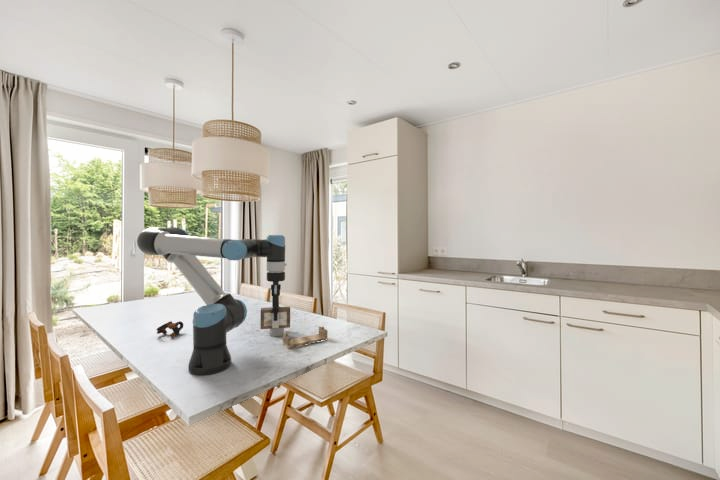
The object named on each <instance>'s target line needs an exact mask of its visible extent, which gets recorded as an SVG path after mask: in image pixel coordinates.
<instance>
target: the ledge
mask: <svg viewBox="0 0 720 480" xmlns="http://www.w3.org/2000/svg"><path fill="white" fill-rule="evenodd" d="M326 339H327V340H328V329H326V328H325V327H324V326H318V333H317V334H312V335H307V336H303V337H296V338H291V336H290V335H288V333H284V334H283V335H282V345H283V347H285V346H286V347H287V348H288V349H287V348H286V347H285V348H286V349H287V350H290V349H289V348H291V349H294V348H293V347H295V348H298V347H297V346H300V347H302V346H301V345H305V344H309V343H313V342H317V341H321V340H326ZM309 345H310V344H309ZM305 346H306V345H305Z"/></svg>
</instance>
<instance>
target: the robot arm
mask: <svg viewBox="0 0 720 480" xmlns="http://www.w3.org/2000/svg"><path fill="white" fill-rule="evenodd" d="M136 244H137V247H138V249H139V250H140V251H141V252H142V253H144V254H146V255H149V256H162V257H164V259H165V260H166V261H167V262H168V263H172V264H174V266H175V267H176V268H177V270H179V272H180V274H181V275H182V276H184V278H185V280H186V281H188V283H189V285H190V286H191V287H192V288H193V289H194V291H195V292H196V293H197V294H198V296H199V297H200V298H201V300H202V302H204V304H205V305H202V306H199V307H198V308H196V309H195V310H194V312H193V314H192V315H193V318H192V328H193V329H192V336H193V337H192V339H193V341H192V342H193V344H192V345H193V347H192V348H193V350H192V353H191V356H190V358H189V362H188V366H187V367H188V368H187V369H188V373H190V375H196V376H206V375H213V374H217V373H220V372H222V371H223V372H224V370H227V369H229V368H230V366H232V356H231V353H230V350H229V347H228V345H227V333H228V332H230V331H232V330H234V329H235V328H238V327H239V326H241V324H243V322H245V319H246V318H247V314H248V310H247V306H246V304H245V303H244V302H243V300H241V299H238V298H234V296H233V295H232V294H231V292H225V291H224V289H222V288H221V286H220V284H218V282H217V281H216V280H215V278H214V277H213V276H212V274H211V273H210V272H209V271H208V270H207V268H206V267H205V266H204V264H203V263H202V262H201V261H200V260H199V258H198V257H206V258H216V259H217V258H219V259H227V260H228V261H240V260H245V259H250V258H266V271H267V272H266V281H267V282H271V283H272V284H271V285H270V290H271V297H272V303H271V304H272V306H271V307H272V311H271V313H272V328H279V307H280V299H279V298H280V295H281V287H282V286H281V284H280V283H279V282H284V281H285V280H286V271H285V270H286V266H287V263H286V247H287V246H286V237H285V236H284V235H283V234H281V235H280V234H268V235H267V236H266V239H258V238H257V239H253V238H252V239H251V238H245V239H244V238H243V239H231V238H230V239H229V238H228V239H227V238H218V237H204V236H196V235H195V236H193V235H190V233H189V232H188V231H186V230H185V229H183V228H180V227H173V226H172V227H156V226H155V227H148V228H146V229H144V230H142V231H141V232H140V233H139V235H138V236H137V239H136Z"/></svg>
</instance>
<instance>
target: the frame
mask: <svg viewBox="0 0 720 480" xmlns="http://www.w3.org/2000/svg"><path fill="white" fill-rule="evenodd" d="M271 311H272V306H271V307H261V308H260V330H270V329H274V328H272V313H271ZM279 328H284V329H289V328H291V306H279Z"/></svg>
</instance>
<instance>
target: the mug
mask: <svg viewBox="0 0 720 480" xmlns="http://www.w3.org/2000/svg"><path fill="white" fill-rule="evenodd" d="M268 333H269V336H270V337H272V336H273V337H272V338H274V337H276V338H278V337H281V336H282V337H283V334H285V328H274V329H268Z"/></svg>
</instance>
